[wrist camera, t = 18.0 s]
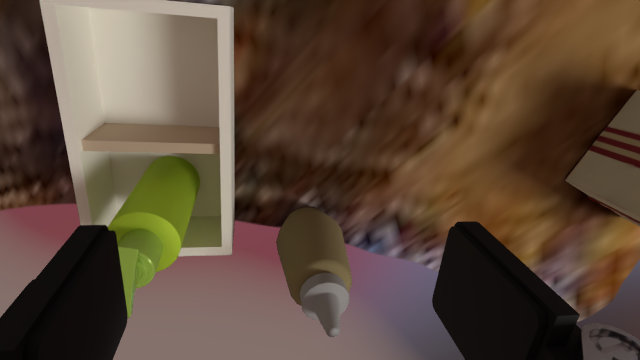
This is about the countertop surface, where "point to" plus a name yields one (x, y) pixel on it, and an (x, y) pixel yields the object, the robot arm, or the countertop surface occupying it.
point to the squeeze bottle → (316, 265)
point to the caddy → (146, 104)
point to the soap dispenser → (154, 221)
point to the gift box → (614, 164)
